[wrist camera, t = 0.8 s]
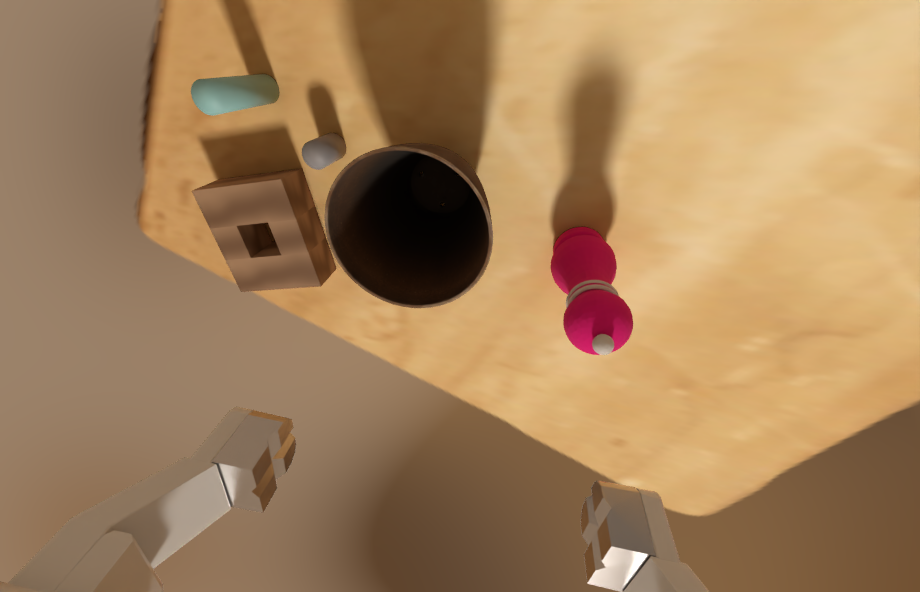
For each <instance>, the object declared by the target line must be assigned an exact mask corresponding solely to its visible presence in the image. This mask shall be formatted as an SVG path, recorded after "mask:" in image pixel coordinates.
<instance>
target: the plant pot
mask: <svg viewBox="0 0 920 592" xmlns="http://www.w3.org/2000/svg"><path fill="white" fill-rule="evenodd" d="M420 172H423V174H422V175H420ZM456 172H457V173H458V174H459V176H457V175H456ZM441 203H444V204H445V206H443V207H442V206H440V204H441ZM325 227H326V233H327V238H328V241H329V244H330V247H331V249H332V251H333V254H334V256H335V258H336V259H337V261H338V263H339V264H340V266H341V267H342V268H343V270H344V271H345V272H346V273H347V275H348V276H349V277H350V278H351V279H352V280H353V281H354V282H355V283H356V284H358V285H359V286H360V287H361V288H362V289H364V290H365V291H367V292H368V293H370V294H371V295H373V296H375V297H377V298H379V299H381V300H383V301H386V302H388V303H391V304H394V305H398V306H403V307H410V308H430V307H436V306H440V305H444V304H447V303H450V302H452V301H454V300H456V299H458V298H459V297H461V296H462V295H464V294H465V293H467V292H468V291H469V290H470V289H471V288H472V287H473V286H474V285H475V284H476V283H477V282H478V281H479V279H480V278H481V276H482V275H483V273H484V271H485V270H486V267H487V265H488V263H489V260H490V256H491V252H492V245H493V231H492V222H491V215H490V209H489V205H488V201H487V198H486V195H485V192H484V189H483V186H482V184H481V182H480V180H479V178H478V176H477V175H476V173H475V172H474V170H473V169H472V167H471V166H470V165H469V164H468V163H467V162H466V161H465V160H464V159H463V158H462V157H460V156H459V155H458V154H456V153H454V152H452V151H450V150H448V149H446V148H443V147H440V146H436V145H431V144H422V143H410V144H401V145H395V146H390V147H385V148H381V149H377V150H373V151H370V152H368V153H365V154H363V155H361V156H359V157H358V158H356V159H354V160H353V161H352V162H351V163H349V164H348V165H347V166H346V167H345V168H344V169H343V170H342V171H341V172H340V174H339V175H338V176H337V178H336V179H335V181H334V183H333V184H332V186H331V188H330V191H329V194H328V197H327V201H326V206H325Z"/></svg>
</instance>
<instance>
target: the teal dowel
mask: <svg viewBox="0 0 920 592" xmlns="http://www.w3.org/2000/svg"><path fill="white" fill-rule="evenodd" d="M191 94H192V98H193V101H194V103H195V104H196V106H197V107H198V108H199V109H200V110H201V111H202V112H204V113H205V114H208V115H218V114H223V113H227V112H232V111H237V110H242V109H247V108H252V107H257V106H262V105H267V104H271V103H274V102H276V101H277V99H278V97H279V88H278V85H277V83H276V81H275V80H274V79H273V78H272V77H271V76H269V75H267V74H256V75H244V76H232V77H221V78H209V79H199V80H196V81H195V82H194V83H193V85H192V88H191Z"/></svg>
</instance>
